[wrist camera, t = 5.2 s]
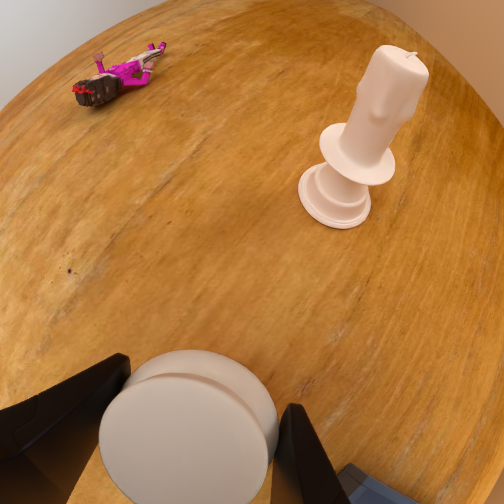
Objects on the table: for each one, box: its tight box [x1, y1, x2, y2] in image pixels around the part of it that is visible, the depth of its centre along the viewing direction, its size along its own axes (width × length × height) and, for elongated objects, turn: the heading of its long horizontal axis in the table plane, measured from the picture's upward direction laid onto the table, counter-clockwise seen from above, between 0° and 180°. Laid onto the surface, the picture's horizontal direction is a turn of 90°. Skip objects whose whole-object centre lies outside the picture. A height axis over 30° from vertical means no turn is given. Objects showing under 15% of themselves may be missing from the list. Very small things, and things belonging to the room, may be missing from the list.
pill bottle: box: [99, 349, 279, 504], centre depth 9 cm, size 5×5×10 cm
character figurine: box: [72, 42, 166, 107], centre depth 21 cm, size 6×5×12 cm
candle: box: [298, 45, 429, 229], centre depth 14 cm, size 5×5×12 cm
